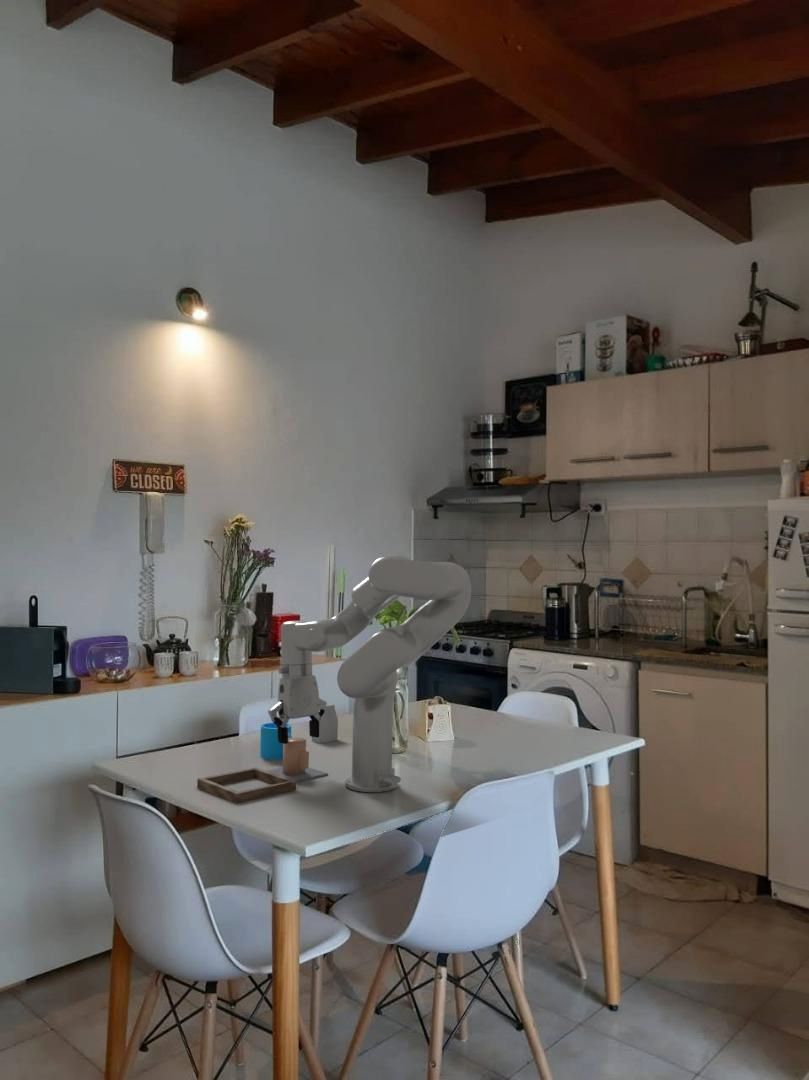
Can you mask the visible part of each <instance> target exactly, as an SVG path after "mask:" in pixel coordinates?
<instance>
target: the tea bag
mask: <svg viewBox="0 0 809 1080" xmlns="http://www.w3.org/2000/svg"><path fill="white" fill-rule="evenodd" d="M335 707H336V706H335V704H331V705H326V707H325V710H324V714H323V715H322V717H321V721H319V737H311V742H315V743H317V744H324V743H329V742H335V741H338V733H339V732H338V731H339V730H338V729H339V719H338V716H337V711H336V709H335Z"/></svg>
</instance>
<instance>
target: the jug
mask: <svg viewBox="0 0 809 1080" xmlns="http://www.w3.org/2000/svg"><path fill="white" fill-rule="evenodd" d="M309 756H310V752H309V751H307V740H306V739H305V738H301V737H292V738H288V743H287V744H283V759H282V767H283V774H286V775H302V774H304V773H305V769H307V768H308V767H309V768H310V766H309V765H310V764H309V762H310V761H309V760H310V759H309V758H310V757H309Z"/></svg>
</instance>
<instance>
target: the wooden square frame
mask: <svg viewBox="0 0 809 1080" xmlns="http://www.w3.org/2000/svg"><path fill="white" fill-rule="evenodd" d="M253 778H255V779H258V780H261V781H264V782H267V783H270V784H269V785H264V786H259V787H255V788H249V789H245V790H241V791H237V790H235V789H233V788H229V787H226V786H223V784H224V785H225V784H228V783H233V782H238V781H243V780H249V779H253ZM196 781H197V783H196V784H197V787H196V788H198V789H201V790H203V791H206V792H208V793H210V794H213V795H216V796H218V797H220V798H223V799H226V800H227V801H229V802H230V801H231V802H232V803H233V802H234V803H236V804H237V803H242V802H247V801H252V800H256V799H261V798H264V797H271V796H274V795H279V794H283V793H287V792H292V791H296V790H297V782H296V781H294V780H291V779H288V778H285V777H283V776H280V775H277V774H274V773H271V772H268V771H266V770H264V769H262V768H258V767H251V768H246V769H241V770H236V771H231V772H226V773H220V774H215V775H211V776H210V775H209V776H205V777H200V778H197V780H196Z"/></svg>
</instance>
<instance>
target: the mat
mask: <svg viewBox="0 0 809 1080" xmlns="http://www.w3.org/2000/svg"><path fill="white" fill-rule="evenodd" d="M265 771H268V772H271V773H274V774H277V775H280V776H283V777H285V778H288V779H291V780H294V781H296V783H298V782H303V781H308V780H313V779H317V778H322V777H326V776H329V774H328V772H325V771H323V770H318V769H316V768H312V767H310V766H309V767H308V768H307V769H305V773H304V774H302V775H286V774H283V766H282V767H277V768H272V769H266V770H265Z"/></svg>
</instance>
